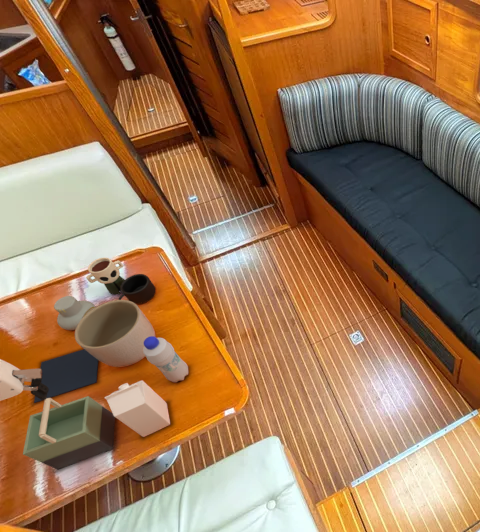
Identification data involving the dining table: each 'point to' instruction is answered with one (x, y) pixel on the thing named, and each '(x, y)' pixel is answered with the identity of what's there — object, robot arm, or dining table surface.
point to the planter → (114, 333)
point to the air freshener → (71, 311)
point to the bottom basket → (92, 449)
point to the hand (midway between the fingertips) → (20, 402)
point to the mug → (138, 289)
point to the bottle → (165, 358)
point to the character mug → (106, 274)
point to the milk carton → (139, 408)
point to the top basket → (62, 428)
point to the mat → (68, 373)
